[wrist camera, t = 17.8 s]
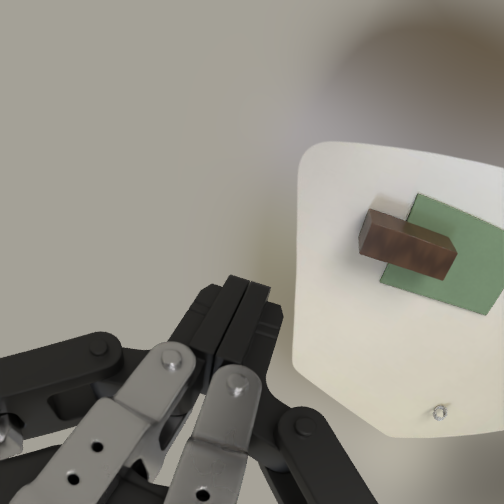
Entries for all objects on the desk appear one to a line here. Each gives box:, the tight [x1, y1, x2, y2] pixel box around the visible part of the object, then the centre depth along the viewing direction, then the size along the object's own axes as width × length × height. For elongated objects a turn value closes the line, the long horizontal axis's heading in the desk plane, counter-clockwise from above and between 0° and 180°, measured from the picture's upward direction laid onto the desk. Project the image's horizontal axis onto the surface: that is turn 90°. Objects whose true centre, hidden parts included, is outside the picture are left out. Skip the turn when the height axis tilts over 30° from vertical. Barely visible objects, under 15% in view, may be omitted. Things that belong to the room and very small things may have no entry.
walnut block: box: [359, 209, 458, 281], centre depth 41 cm, size 5×5×14 cm
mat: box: [380, 194, 504, 315], centre depth 42 cm, size 16×24×1 cm, turn 79°
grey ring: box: [433, 406, 447, 421], centre depth 59 cm, size 4×2×4 cm, turn 100°
